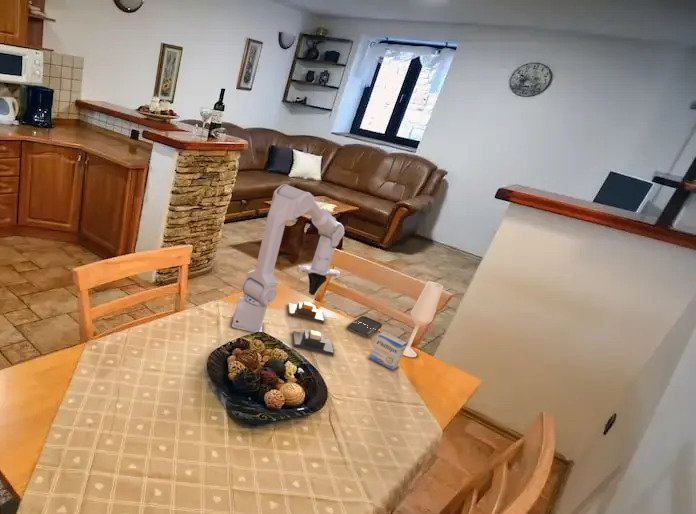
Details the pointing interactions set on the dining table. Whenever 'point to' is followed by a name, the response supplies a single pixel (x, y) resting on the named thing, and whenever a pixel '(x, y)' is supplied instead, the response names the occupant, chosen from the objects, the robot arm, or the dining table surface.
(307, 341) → the grey stepped holder
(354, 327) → the phone
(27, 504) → the dining table surface
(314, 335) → the key
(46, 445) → the dining table surface
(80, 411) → the dining table surface
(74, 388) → the dining table surface
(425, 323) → the champagne flute
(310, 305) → the key back
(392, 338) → the medicine box
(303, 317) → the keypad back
